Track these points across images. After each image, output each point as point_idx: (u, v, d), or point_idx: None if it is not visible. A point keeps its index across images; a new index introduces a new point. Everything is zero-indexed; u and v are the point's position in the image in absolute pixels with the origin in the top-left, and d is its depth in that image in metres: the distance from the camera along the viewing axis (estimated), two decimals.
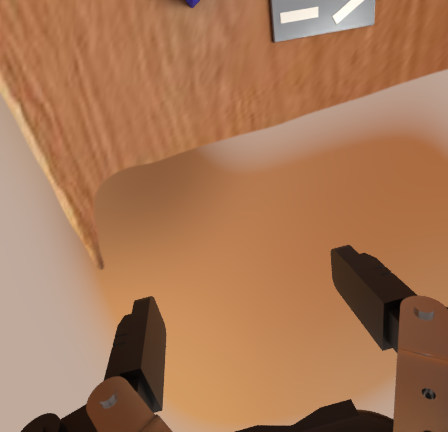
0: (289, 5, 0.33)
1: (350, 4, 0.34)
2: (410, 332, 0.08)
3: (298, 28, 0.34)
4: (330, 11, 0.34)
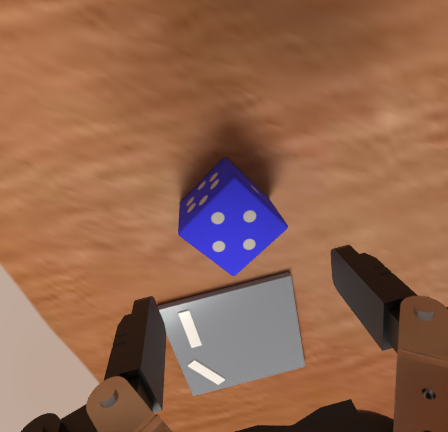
0: (198, 317, 0.26)
1: (208, 371, 0.29)
2: (410, 332, 0.08)
3: (176, 331, 0.27)
4: (199, 356, 0.28)
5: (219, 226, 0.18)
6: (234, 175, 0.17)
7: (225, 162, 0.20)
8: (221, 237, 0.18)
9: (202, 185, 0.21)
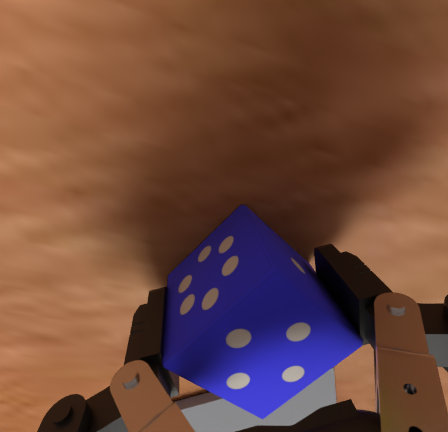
0: (197, 427, 0.18)
1: None
2: (381, 327, 0.08)
3: None
4: None
5: (241, 351, 0.10)
6: (272, 261, 0.09)
7: (246, 218, 0.12)
8: (244, 367, 0.10)
9: (205, 254, 0.12)
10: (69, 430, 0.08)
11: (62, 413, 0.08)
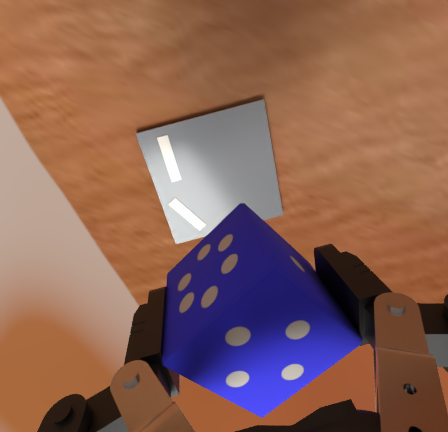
0: (177, 145, 0.28)
1: (189, 214, 0.31)
2: (381, 327, 0.08)
3: (156, 161, 0.28)
4: (180, 194, 0.30)
5: (241, 349, 0.10)
6: (272, 258, 0.09)
7: (245, 216, 0.12)
8: (243, 366, 0.10)
9: (205, 252, 0.12)
10: (69, 430, 0.08)
11: (62, 413, 0.08)
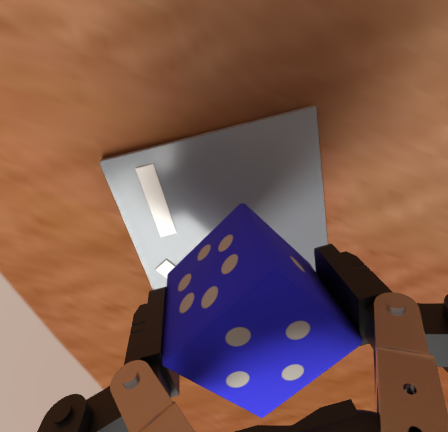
0: (169, 180, 0.17)
1: None
2: (381, 327, 0.08)
3: (135, 205, 0.17)
4: (174, 254, 0.19)
5: (241, 349, 0.10)
6: (272, 259, 0.09)
7: (245, 216, 0.12)
8: (243, 366, 0.10)
9: (205, 253, 0.12)
10: (69, 430, 0.08)
11: (62, 413, 0.08)
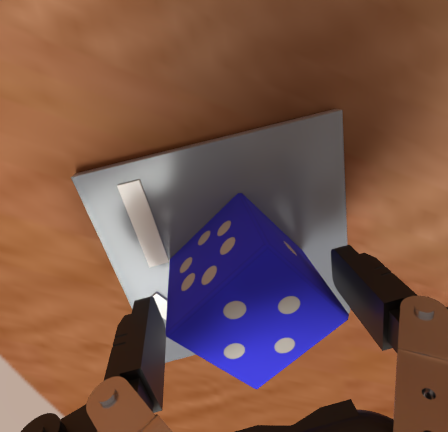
0: (160, 199, 0.13)
1: None
2: (410, 332, 0.08)
3: (117, 229, 0.14)
4: (166, 287, 0.15)
5: (237, 322, 0.10)
6: (265, 238, 0.10)
7: (243, 204, 0.13)
8: (239, 338, 0.11)
9: (205, 238, 0.13)
10: None
11: None
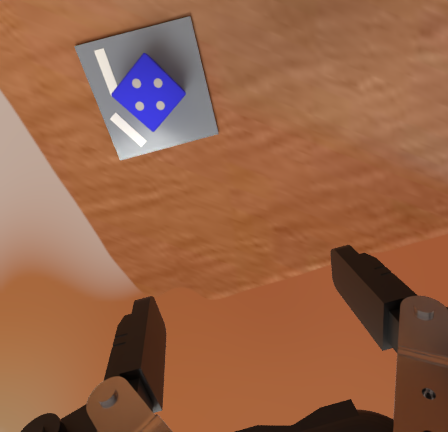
0: (113, 59, 0.30)
1: (130, 130, 0.34)
2: (410, 332, 0.08)
3: (95, 74, 0.31)
4: (120, 109, 0.33)
5: (138, 90, 0.28)
6: (145, 53, 0.27)
7: None
8: (140, 99, 0.28)
9: None
10: None
11: None
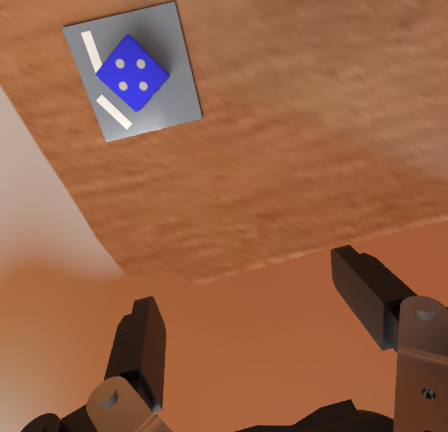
0: (100, 41, 0.32)
1: (116, 112, 0.35)
2: (410, 332, 0.08)
3: (82, 56, 0.32)
4: (106, 91, 0.34)
5: (121, 70, 0.29)
6: None
7: None
8: (124, 79, 0.29)
9: None
10: None
11: None
